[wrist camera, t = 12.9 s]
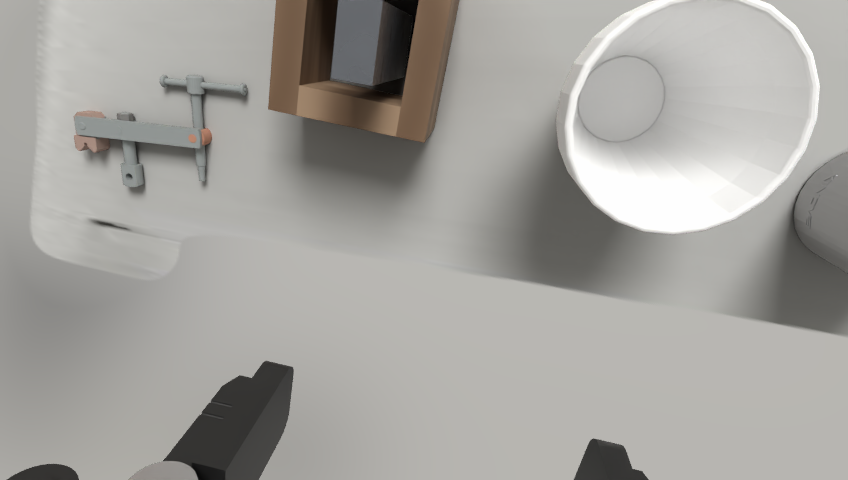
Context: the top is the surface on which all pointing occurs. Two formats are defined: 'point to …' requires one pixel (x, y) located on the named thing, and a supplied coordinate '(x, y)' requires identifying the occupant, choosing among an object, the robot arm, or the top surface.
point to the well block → (347, 104)
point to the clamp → (150, 130)
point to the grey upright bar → (370, 42)
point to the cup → (688, 112)
